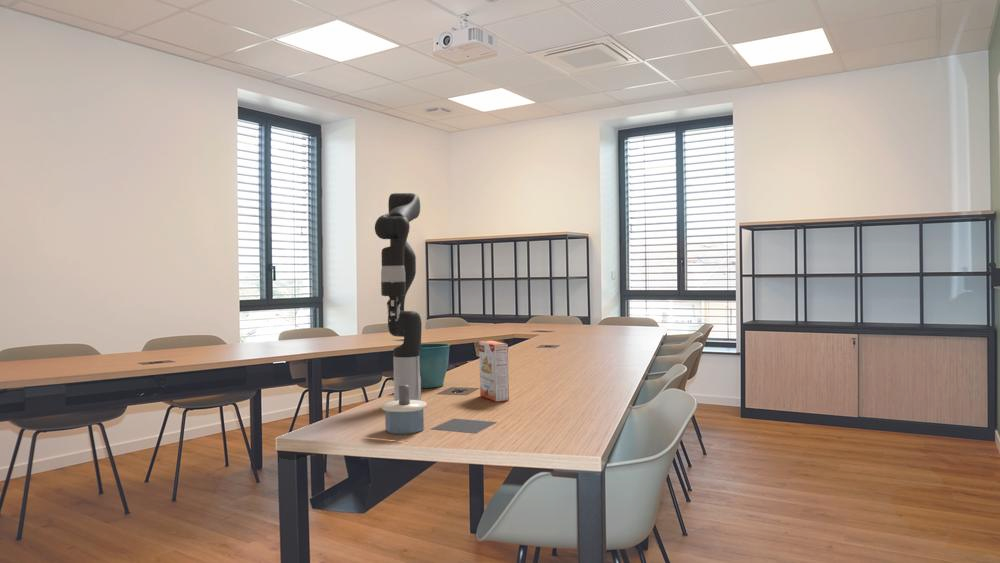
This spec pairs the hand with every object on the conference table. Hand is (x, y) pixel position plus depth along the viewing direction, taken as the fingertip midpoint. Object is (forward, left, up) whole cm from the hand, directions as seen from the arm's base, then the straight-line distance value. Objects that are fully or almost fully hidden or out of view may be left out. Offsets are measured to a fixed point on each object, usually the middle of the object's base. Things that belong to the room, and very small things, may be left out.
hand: (394, 332), depth 201 cm
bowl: (+9, +9, -28) cm, 31 cm away
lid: (+9, +9, -21) cm, 25 cm away
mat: (-2, +23, -28) cm, 36 cm away
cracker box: (-46, +13, -28) cm, 56 cm away
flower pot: (-62, -24, -28) cm, 72 cm away
